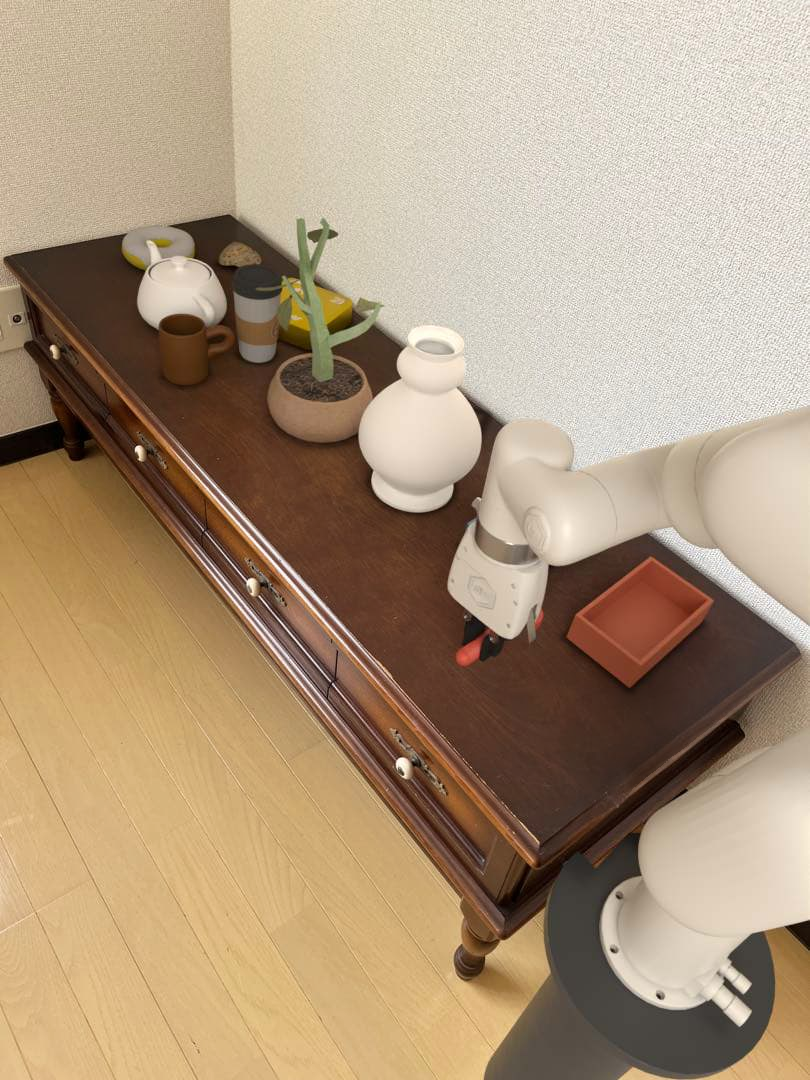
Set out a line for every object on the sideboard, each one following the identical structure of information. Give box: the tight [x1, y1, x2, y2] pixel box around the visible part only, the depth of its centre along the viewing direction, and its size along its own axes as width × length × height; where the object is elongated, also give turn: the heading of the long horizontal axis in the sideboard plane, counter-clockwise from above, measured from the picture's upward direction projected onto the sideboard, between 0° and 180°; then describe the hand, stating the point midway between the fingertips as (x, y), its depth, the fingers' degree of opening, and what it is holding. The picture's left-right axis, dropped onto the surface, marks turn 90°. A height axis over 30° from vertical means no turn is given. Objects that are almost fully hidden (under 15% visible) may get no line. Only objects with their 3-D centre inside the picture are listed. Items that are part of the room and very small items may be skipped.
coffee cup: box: [231, 263, 283, 364], centre depth 140 cm, size 8×8×15 cm
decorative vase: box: [358, 324, 482, 513], centre depth 116 cm, size 18×18×25 cm
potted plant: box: [256, 217, 386, 444], centre depth 126 cm, size 22×18×30 cm
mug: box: [158, 314, 235, 387], centre depth 135 cm, size 12×8×9 cm, turn 102°
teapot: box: [136, 240, 228, 331], centre depth 146 cm, size 25×16×12 cm, turn 36°
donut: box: [121, 225, 196, 272], centre depth 163 cm, size 14×14×5 cm
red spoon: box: [454, 608, 544, 667], centre depth 97 cm, size 14×4×2 cm, turn 133°
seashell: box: [218, 241, 263, 268], centre depth 167 cm, size 8×6×8 cm
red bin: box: [565, 556, 715, 689], centre depth 107 cm, size 17×10×5 cm, turn 133°
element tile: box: [277, 277, 354, 351], centre depth 153 cm, size 15×15×5 cm
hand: (480, 646), depth 96 cm, fingers closed on red spoon, 2 cm apart
